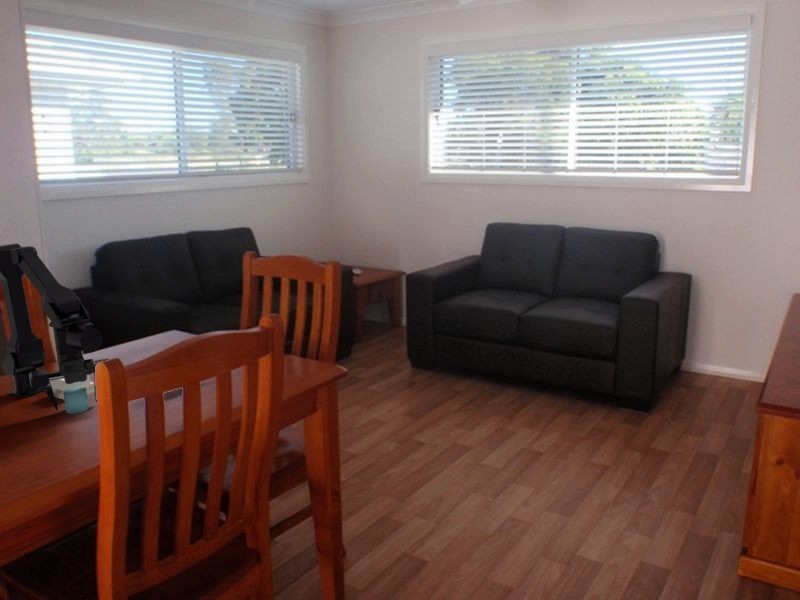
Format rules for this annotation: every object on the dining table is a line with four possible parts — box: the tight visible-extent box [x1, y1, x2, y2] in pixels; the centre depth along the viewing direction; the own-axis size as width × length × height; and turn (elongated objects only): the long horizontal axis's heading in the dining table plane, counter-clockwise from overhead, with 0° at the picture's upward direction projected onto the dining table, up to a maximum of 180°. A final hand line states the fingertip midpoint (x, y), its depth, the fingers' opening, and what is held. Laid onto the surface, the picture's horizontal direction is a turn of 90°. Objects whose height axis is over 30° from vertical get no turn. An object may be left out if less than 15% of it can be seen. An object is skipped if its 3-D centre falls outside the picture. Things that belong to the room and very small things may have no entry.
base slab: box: [52, 381, 94, 401], centre depth 187 cm, size 8×8×3 cm
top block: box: [50, 374, 92, 391], centre depth 186 cm, size 7×7×3 cm
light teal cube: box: [63, 387, 90, 415], centre depth 176 cm, size 5×5×5 cm
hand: (76, 405), depth 176 cm, fingers open, 9 cm apart
